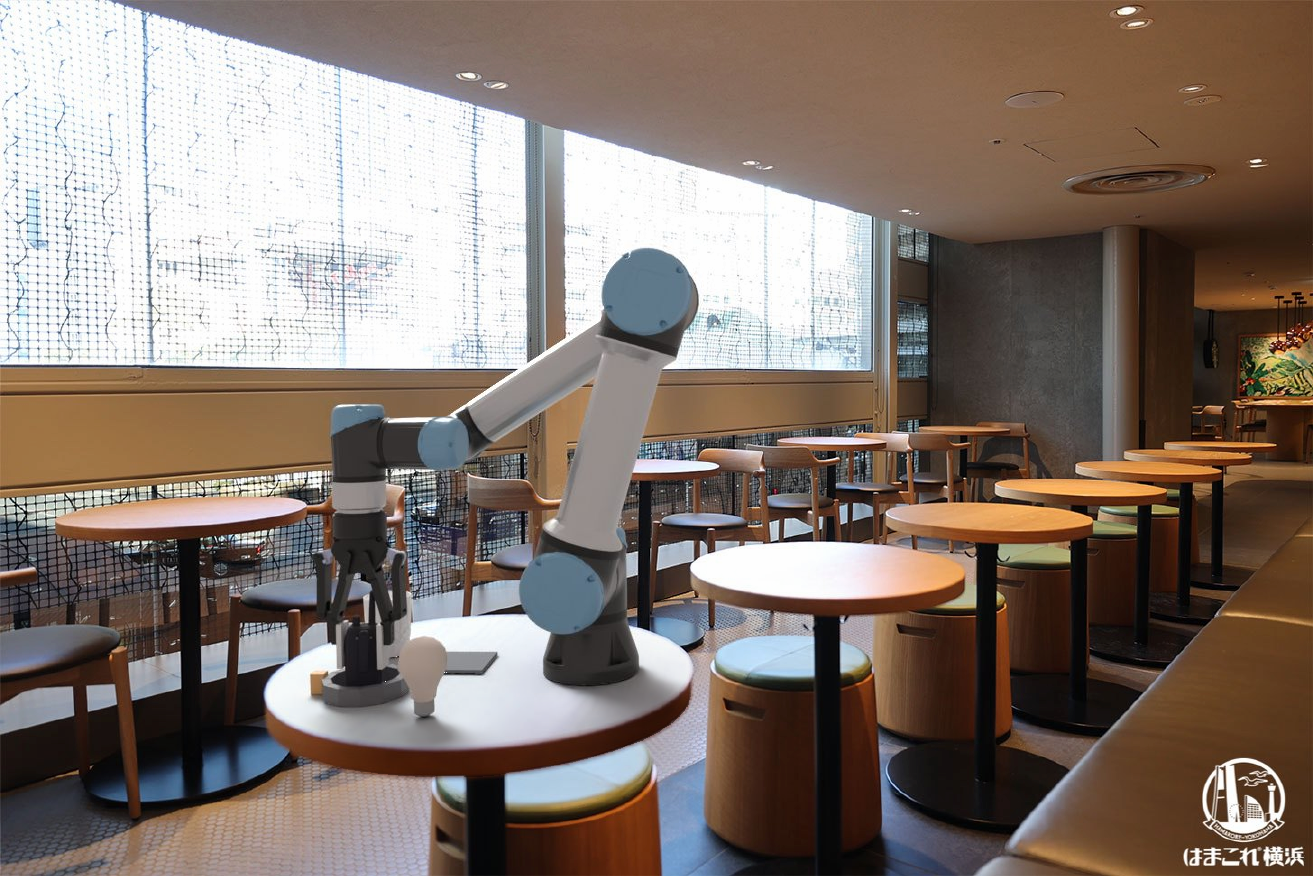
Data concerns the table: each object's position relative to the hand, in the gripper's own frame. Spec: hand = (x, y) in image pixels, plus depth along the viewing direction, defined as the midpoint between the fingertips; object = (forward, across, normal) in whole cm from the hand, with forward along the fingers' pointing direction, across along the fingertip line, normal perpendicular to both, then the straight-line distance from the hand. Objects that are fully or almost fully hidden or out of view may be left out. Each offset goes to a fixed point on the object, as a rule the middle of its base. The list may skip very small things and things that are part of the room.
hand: (363, 666), depth 129 cm
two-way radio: (+4, 0, 0) cm, 4 cm away
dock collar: (+4, +1, 0) cm, 4 cm away
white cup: (+4, +4, -20) cm, 21 cm away
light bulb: (+4, -12, +9) cm, 16 cm away
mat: (+4, -10, -14) cm, 18 cm away
